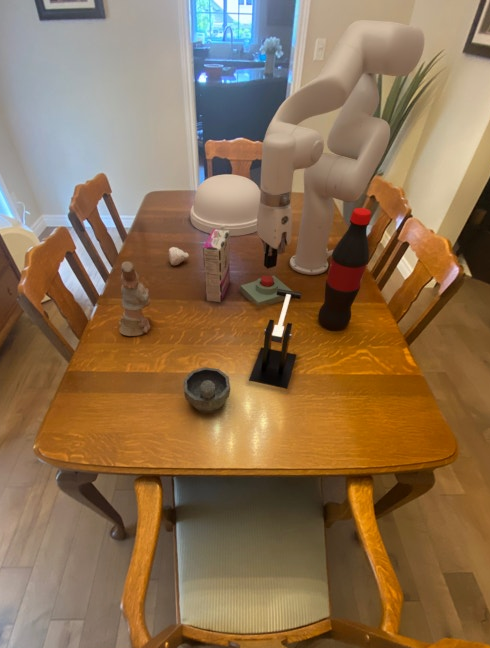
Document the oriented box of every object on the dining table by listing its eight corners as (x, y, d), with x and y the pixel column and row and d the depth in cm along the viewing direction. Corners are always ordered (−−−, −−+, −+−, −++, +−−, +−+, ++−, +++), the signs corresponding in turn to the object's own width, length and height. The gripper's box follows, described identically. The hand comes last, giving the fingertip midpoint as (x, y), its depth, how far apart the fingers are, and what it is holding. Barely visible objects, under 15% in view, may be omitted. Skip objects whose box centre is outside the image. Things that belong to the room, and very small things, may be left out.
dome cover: (199, 200, 155) (197, 162, 145) (269, 205, 153) (272, 167, 142) (181, 233, 134) (178, 192, 124) (262, 240, 132) (265, 198, 121)
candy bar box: (214, 281, 113) (212, 228, 101) (229, 283, 113) (230, 229, 100) (205, 301, 106) (202, 246, 94) (221, 303, 105) (221, 248, 93)
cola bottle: (349, 319, 101) (384, 205, 79) (345, 337, 96) (381, 221, 74) (319, 313, 103) (345, 200, 81) (313, 330, 98) (339, 214, 75)
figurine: (144, 341, 94) (128, 269, 79) (114, 334, 95) (93, 262, 80) (158, 321, 99) (146, 250, 84) (130, 315, 101) (114, 244, 86)
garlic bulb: (191, 265, 119) (189, 249, 115) (173, 268, 118) (171, 252, 114) (186, 258, 122) (185, 242, 118) (169, 260, 121) (167, 244, 117)
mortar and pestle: (185, 390, 83) (180, 350, 74) (226, 387, 84) (226, 347, 74) (187, 430, 75) (182, 391, 66) (232, 426, 76) (233, 387, 67)
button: (268, 279, 108) (269, 274, 106) (275, 285, 106) (276, 280, 104) (258, 282, 106) (258, 277, 105) (265, 288, 104) (265, 283, 103)
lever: (277, 292, 85) (278, 286, 83) (301, 297, 84) (302, 290, 82) (264, 339, 80) (264, 333, 78) (288, 344, 79) (289, 338, 77)
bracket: (260, 350, 92) (264, 307, 83) (295, 357, 91) (304, 315, 81) (248, 383, 84) (251, 340, 75) (286, 391, 83) (294, 349, 73)
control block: (273, 281, 114) (274, 270, 111) (292, 298, 108) (293, 285, 105) (240, 291, 110) (240, 279, 107) (257, 309, 104) (258, 297, 101)
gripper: (306, 204, 85) (296, 275, 100) (271, 183, 94) (266, 251, 108) (279, 211, 83) (273, 282, 97) (246, 189, 91) (245, 257, 105)
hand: (270, 266), depth 102 cm, fingers closed
